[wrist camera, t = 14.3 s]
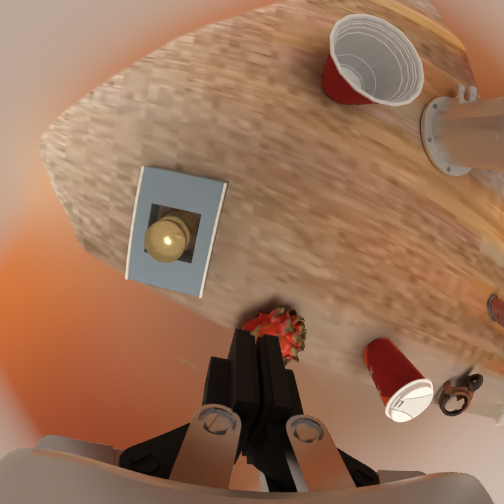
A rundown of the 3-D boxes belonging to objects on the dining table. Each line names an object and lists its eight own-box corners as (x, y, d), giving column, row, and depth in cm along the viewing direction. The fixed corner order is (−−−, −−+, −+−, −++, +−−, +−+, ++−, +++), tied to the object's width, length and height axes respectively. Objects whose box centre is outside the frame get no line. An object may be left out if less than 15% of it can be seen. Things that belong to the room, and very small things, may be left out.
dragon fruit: (304, 299, 42) (243, 339, 46) (274, 283, 36) (207, 331, 39) (329, 349, 37) (262, 386, 40) (302, 343, 31) (225, 386, 34)
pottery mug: (449, 403, 52) (450, 425, 45) (429, 383, 54) (430, 405, 47) (486, 374, 46) (492, 394, 39) (467, 352, 48) (473, 372, 41)
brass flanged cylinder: (166, 206, 36) (147, 216, 28) (199, 213, 36) (189, 226, 29) (160, 239, 37) (141, 257, 29) (193, 246, 38) (181, 267, 30)
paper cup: (349, 364, 44) (378, 423, 31) (372, 327, 42) (412, 382, 29) (382, 371, 45) (414, 424, 32) (405, 337, 43) (446, 386, 30)
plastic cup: (391, 84, 32) (440, 63, 20) (353, 138, 34) (399, 129, 23) (330, 35, 30) (362, -6, 18) (286, 86, 32) (307, 53, 21)
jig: (152, 165, 34) (141, 166, 30) (228, 181, 35) (227, 183, 31) (135, 267, 38) (125, 279, 34) (205, 284, 39) (201, 298, 35)
